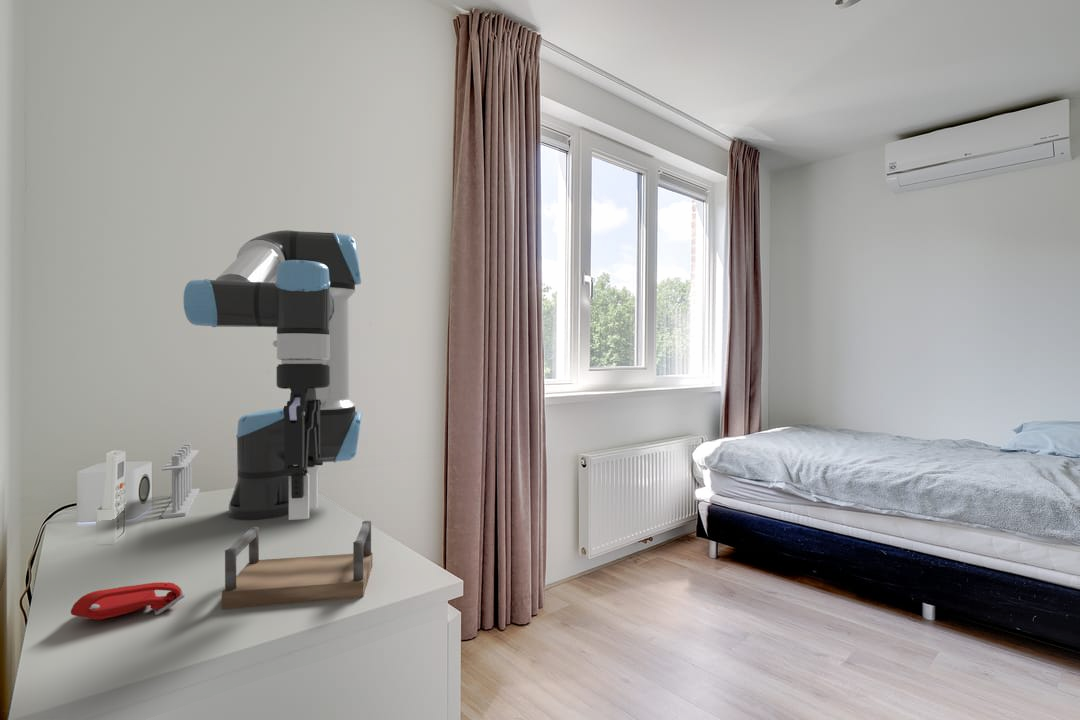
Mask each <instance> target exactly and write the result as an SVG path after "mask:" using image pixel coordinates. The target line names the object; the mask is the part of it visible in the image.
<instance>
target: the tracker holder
mask: <svg viewBox="0 0 1080 720" xmlns="http://www.w3.org/2000/svg"><path fill="white" fill-rule="evenodd" d="M156 591H167V593H166V595H162V596H160V595H159V596H158V595H156ZM185 595H186V594H185V593H184V590H183V587H180V586H179V585H178V584H175V583H173V582H162V581H161V582H160V581H159V582H149V583H142V584H141V583H140V584H135V585H127V586H120V587H115V588H106V589H100V590H95V591H91V592H89V593H86V594H84V595H83V596H81V597H80V598H78V600H77V601H76V602H75V603H73V605H72V607H71V608H70V614H71V615H72V616H75V617H80V618H82V619H85V620H99V621H100V620H103V619H109V618H113V617H117V616H121V615H125V614H128V613H132V612H135V611H138V610H142V609H143V608H145V607H148V606H150V609H152V610H154V615H155V616H158V615H160V614H161V613H163V612H164V611H166V610H167V609H169V608H170V607H173V606H174V605H175V604H177V603H178V602H179V601H180V600H182V599H184V598H185Z"/></svg>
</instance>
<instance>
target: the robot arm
mask: <svg viewBox="0 0 1080 720" xmlns="http://www.w3.org/2000/svg"><path fill="white" fill-rule="evenodd" d="M357 249H358V248H357V243H356V240H355V238H354V237H353V236H351V235H349V234H343V233H342V234H341V233H336V232H322V231H321V232H319V231H297V230H285V229H284V230H278V231H277V230H276V231H271V232H268V233H264V234H261V235H258V236H256V237H254V238H251V239H250V240H248V241H247V242H245V243H244V244H243V245H242V246H241V247H240V248H239V249H238V252H237V254H236V259H235V260H234V261H232V263H231V264H230V265H229V266H228V267H227V268H226V269H225V270H224V271H222V273H221V274H219V276H218V277H217V278H216V279H214V280H213V279H209V278H205V279H193V280H190V281H188V282H187V283H186V285H185V287H184V291H183V297H182V298H183V301H182V302H183V310H184V313H185V316H186V319H187V322H189V323H190V324H191V325H194V326H201V327H202V326H203V327H211V328H216V327H226V328H228V327H231V328H232V327H234V328H235V327H237V328H239V327H241V328H242V327H243V328H246V327H247V328H249V327H250V328H253V327H254V328H261V327H263V328H276V340H274V341H273V343H272V346H273V347H275V348H276V359H277V360H278V361H281V363H279V364H277V366H276V387H277V388H279V389H283V390H287V389H289V390H290V394H289V400H288V401H287V402H286V405H284V406H283V407H282V408H274V409H268V410H267V409H266V410H261V411H256V412H252V413H247V414H244V415H242V416H241V417H240V418H239V419H238V422H237V430H236V431H237V434H236V440H237V441H236V442H237V443H236V447H237V448H236V451H237V457H236V458H237V461H236V464H237V468H236V469H237V480H236V484H235V486H234V489H233V491H232V494H231V498H230V500H229V504H228V516H229V517H230V518H232V519H235V520H243V521H244V520H247V521H249V520H251V521H253V520H254V521H255V520H266V519H272V518H278V517H279V518H280V517H283V516H286V515H288V521H289V520H291V521H292V520H294V521H295V520H308V519H309V518H310V509H318V505H319V504H318V503H319V502H318V501H319V500H318V499H319V496H318V494H319V492H318V490H319V489H318V486H319V485H318V484H319V483H318V480H319V479H318V478H319V475H318V474H319V470H318V469H319V468H318V466H323V464H324V463H338V462H347V461H351V460H353V459H354V458H356V457H355V456H356V455H357V449H358V443H359V442H358V441H359V435H360V429H361V420H362V415H363V414H362V412H360V411H356V404H355V403H354V401H352V400H351V399H350V395H349V393H350V391H349V390H350V389H349V388H350V385H349V380H350V379H349V377H350V376H349V370H350V369H349V367H350V366H349V298H351V296H353V294H354V293H355V292H356V285H361V284H362V278H361V271H360V263H359V257H358V250H357Z"/></svg>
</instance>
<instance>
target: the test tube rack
mask: <svg viewBox="0 0 1080 720" xmlns="http://www.w3.org/2000/svg"><path fill="white" fill-rule="evenodd" d="M199 452H200V449H192V444H191V443H183V446H181V447H180V448H179V449H178V450H177V451H176V452H175V453H174V454H173V455H172V456H171V459H170V460H169V461H168V462H167V464H165V465H164V466H163V467H162V470H161V471H171V502H169V503H170V504H169V505H168V506H167V507H166V509H165V510H164V512H163V513H162V514H161V519H163V520H164V519H172V518H180V517H182V518H183V517H186V516H187V514H188V512H189V510H190V509H191V507H192V506H193V503H194V502H195V500H196V498H197V496H198V494H199V493H200V488H192V460H193V459H195V457H196V456H197V454H198V453H199Z"/></svg>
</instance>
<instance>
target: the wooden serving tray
mask: <svg viewBox="0 0 1080 720" xmlns="http://www.w3.org/2000/svg"><path fill="white" fill-rule="evenodd" d="M361 524H362V525H361V527H360V530H359V532H358V534H357V536H356V539H355V541H353V542H352V543H353V546H352V549H353V553H344V554H342V553H341V554H331V555H330V554H329V555H313V556H301V557H299V556H298V557H283V558H270V559H267V558H266V559H260V555H259V554H260V551H259V550H260V549H259V548H260V547H259V545H260V544H259V543H260V541H259V540H260V539H259V538H260V537H259V536H260V535H259V534H260V530H259V526H253V527H249V528H248V530H247V531H246V532H245V533H243V534H242V535H241V536H240V538H238V539H237V540H236V541H235V542H234V543H233V544H232V545H231V546H230V547H228V549H226V550H224V589H223V591H221V610H231V609H243V608H255V607H266V606H276V605H277V606H278V605H290V604H299V603H300V604H301V603H311V602H320V601H321V602H322V601H333V600H334V601H335V600H336V601H337V600H345V599H356V598H357V599H358V598H364V597H365V592H366V589H367V586H368V583H369V579H370V576H371V573H370V572H372V570H373V552H372V521H371V520H364V521H362V523H361ZM247 546H248V562H247V564H246V565H245V566H244V567H243V568H242V569H241V570H240V572H238V574H237V557H238V555H240V553H241V552H242V551H243V550H244V549H245V548H246V547H247Z"/></svg>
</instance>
